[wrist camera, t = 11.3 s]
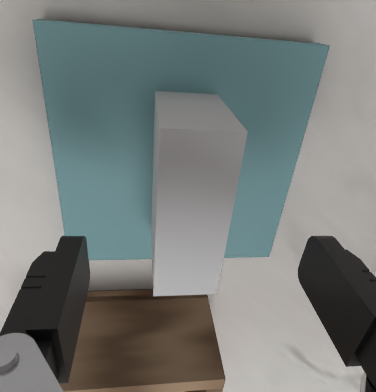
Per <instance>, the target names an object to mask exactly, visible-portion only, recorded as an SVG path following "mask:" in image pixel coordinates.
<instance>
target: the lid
mask: <svg viewBox="0 0 376 392" xmlns="http://www.w3.org/2000/svg"><path fill="white" fill-rule="evenodd" d="M33 25H34V32H35V38H36V45H37V52H38V58H39V65H40V72H41V78H42V85H43V92H44V98H45V105H46V112H47V119H48V125H49V132H50V139H51V145H52V152H53V159H54V165H55V172H56V179H57V185H58V192H59V199H60V205H61V212H62V219H63V225H64V232H65V236H85V237H86V240H87V249H88V259H89V260H125V259H152V272H153V296H176V295H204V294H217V291H218V286H219V281H220V276H221V270H222V265H223V260H224V258H231V257H269V255H270V252H271V248H272V245H273V241H274V238H275V234H276V231H277V227H278V224H279V220H280V217H281V213H282V210H283V207H284V203H285V200H286V196H287V193H288V189H289V186H290V182H291V179H292V175H293V172H294V168H295V165H296V161H297V158H298V154H299V151H300V147H301V144H302V140H303V137H304V133H305V130H306V126H307V123H308V120H309V116H310V113H311V109H312V106H313V102H314V99H315V95H316V92H317V88H318V85H319V81H320V78H321V74H322V71H323V67H324V64H325V60H326V57H327V53H328V50H329V45H325V44H320V43H310V42H298V41H287V40H275V39H264V38H252V37H241V36H229V35H218V34H206V33H194V32H183V31H171V30H160V29H148V28H137V27H125V26H114V25H102V24H91V23H79V22H68V21H56V20H45V19H37V20H33Z"/></svg>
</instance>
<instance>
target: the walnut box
mask: <svg viewBox="0 0 376 392" xmlns="http://www.w3.org/2000/svg"><path fill="white" fill-rule="evenodd" d="M224 383H225V375H224V370H223V365H222V361H221V356H220V351H219V347H218V342H217V338H216V333H215V328H214V324H213V319H212V314H211V310H210V305H209V300H208V296H207V294H204V295H176V296H153V289H146V290H115V291H88V293H87V298H86V302H85V307H84V312H83V316H82V321H81V326H80V330H79V335H78V340H77V344H76V349H75V354H74V359H73V363H72V368H71V373H70V377H69V382H68V383H59V385H60V386H61V388H62V390H63V392H184V391H185V392H222V391H223V387H224Z"/></svg>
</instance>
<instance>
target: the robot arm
mask: <svg viewBox="0 0 376 392" xmlns="http://www.w3.org/2000/svg"><path fill="white" fill-rule="evenodd" d="M298 278H299V281H300V284H301V286H302V288H303V289H304V291H305V293H306V295H307V297H308V298H309V300H310V302H311V304H312V306H313V307H314V309H315V311H316V313H317V315H318V316H319V318H320V320H321V322H322V324H323V326H324V327H325V329H326V331H327V333H328V335H329V336H330V338H331V340H332V342H333V344H334V345H335V347H336V349H337V351H338V353H339V354H340V356H341V358H342V360H343V362H344V364H345V365H346V367H347V366H362V368H363V370H364V371H365V372H364V373H363V375H362V377H361V384H360V392H376V277H375V276H374V275H373V274H372V273H370V272H369V269H368V268H367V267H366V266H365V264H364V263H363V262H362V261H361V260H360V259H359V258H358V257H356V256H355V255H354V254H352V253H351V252H349V251H348V250H344V248H343V247H342V246H341V245H340V243H339V242H338V241H337V240H336V239H335V238H334V237H333V236H311V237H310V238H309V239H308V241H307V244H306V247H305V250H304V253H303V255H302V258H301V261H300V264H299V267H298ZM89 280H90V269H89V259H88V249H87V240H86V237H85V236H62V237H61V238H60V241H59V243H58V246H57V248H56V251H55V252H43V253H42V254H41V255H40V256H39V257H38V258H37V259H36V260H35V261H34V262H33V263H32V264H31V266H30V269H29V271H28V273H27V275H26V279H25V280H24V282H23V284H22V286H21V290H20V291H19V293H18V295H17V297H16V299H15V302H14V304H13V306H12V308H11V310H10V313H9V315H8V317H7V319H6V321H5V324H4V326H3V328H2V330H1V332H0V392H63V390H62V388H61V386H60V385H59V383H68V382H69V377H70V373H71V368H72V363H73V359H74V354H75V349H76V344H77V340H78V335H79V330H80V326H81V321H82V316H83V312H84V307H85V302H86V298H87V293H88V288H89Z"/></svg>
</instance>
